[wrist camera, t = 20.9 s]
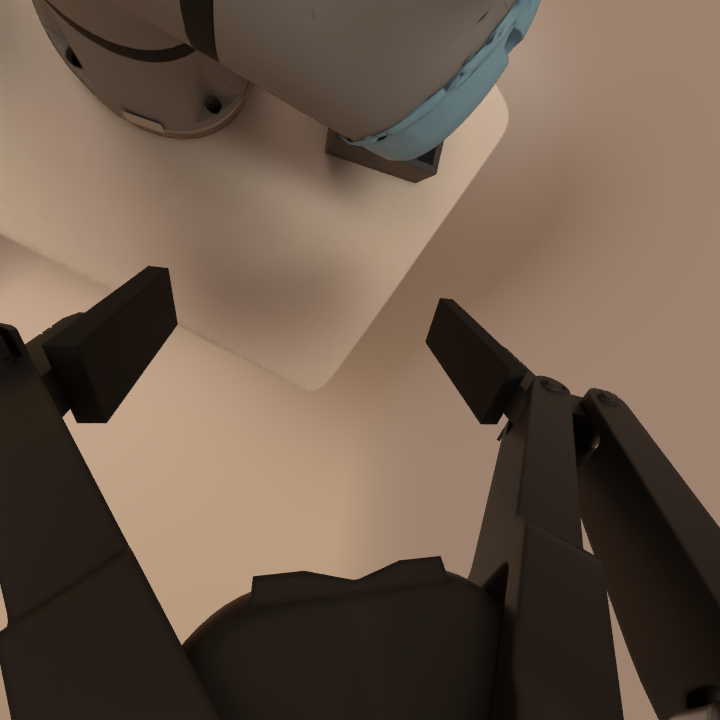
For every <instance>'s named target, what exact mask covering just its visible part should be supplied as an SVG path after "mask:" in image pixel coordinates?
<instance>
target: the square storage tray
mask: <svg viewBox="0 0 720 720" xmlns="http://www.w3.org/2000/svg"><path fill="white" fill-rule="evenodd" d="M443 142H444V140H443V141H442V142H441V143H440V144H438V145H437V146H436V147H434V148H433V149H431V150H430V151H428V152H427V153H425V154H423V155H421V156H419V157H417V158H414V159H411V160H404V161H398V160H396V161H392V160H387V159H385V158H383V157H381V156H379V155H377V154H375V153H373V152H371V151H370V150H368V149H366V148H364V147H362V146H356V145H351V144H348V143H347V142H345V141H344V140H343V139H341V137H340V136H339V133H338V132H336V131H334V130H333V129H331V128H329V127H328V133H327V141H326V148H325V153H327V154H330V155H333V156H336V157H339V158H342V159H345V160H348V161H351V162H354V163H357V164H360V165H363V166H366V167H369V168H372V169H375V170H378V171H381V172H384V173H387V174H390V175H393V176H396V177H399V178H402V179H405V180H408V181H411V182H414V183H417V182H419V181H422V180H424V179H426V178H429V177H431V176H433V175H436V173H437V169H438V164H439V160H440V155H441V151H442V146H443Z"/></svg>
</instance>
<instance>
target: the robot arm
mask: <svg viewBox="0 0 720 720" xmlns="http://www.w3.org/2000/svg"><path fill="white" fill-rule="evenodd" d="M32 2H33V4H34V7H35V9H36V12H37V14H38V16H39V19H40V21H41V23H42V25H43V27H44V29H45V31H46V33H47V35H48V37H49V39H50V40H51V42H52V44H53V45H54V47H55V48H56V50H57V51H58V53H59V54H60V56H61V57H62V59H63V60H64V61H65V63H66V64H67V65H68V67H69V68H70V69H71V70H72V71H73V73H74V74H75V75H76V76H77V77H78V78H79V79H80V80H81V81H82V82H83V83H84V84H85V85H86V87H87V88H88V89H89V90H90V91H91V92H92V93H94V94H95V95H96V96H97V97H98V98H99V99H100V100H101V101H102V102H103V103H104V104H105V105H107V106H108V107H109V108H110V109H111V110H113V111H114V112H116V113H117V114H118V115H120V116H121V117H123V118H124V119H126V120H127V121H129V122H131V123H133V124H135V125H136V126H138V127H141V128H143V129H145V130H147V131H150V132H153V133H156V134H159V135H163V136H167V137H173V138H197V137H202V136H206V135H209V134H212V133H214V132H216V131H218V130H220V129H221V128H223V127H225V126H226V125H227V124H228V123H230V122H231V121H232V120H233V119H234V118H235V116H236V115H237V114H238V113H239V111H240V110H241V108H242V106H243V105H244V103H245V101H246V98H247V96H248V93H249V90H250V86H251V82H252V83H254V84H255V85H257V86H259V87H261V88H262V89H264V90H266V91H267V92H269V93H271V94H273V95H274V96H276V97H278V98H279V99H281V100H283V101H285V102H286V103H288V104H290V105H291V106H293V107H295V108H297V109H298V110H300V111H302V112H303V113H305V114H307V115H309V116H310V117H312V118H314V119H315V120H317V121H319V122H321V123H322V124H324V125H326V126H327V127H329V128H331V129H333V130H334V131H336V132H338V133H339V136H340V137H341V139H343V140H344V141H345V142H347V143H348V144H351V145H356V146H362V147H364V148H366V149H368V150H370V151H371V152H373V153H375V154H377V155H379V156H381V157H383V158H385V159H387V160H392V161H396V160H398V161H404V160H411V159H414V158H417V157H419V156H421V155H423V154H425V153H427V152H428V151H430V150H431V149H433V148H434V147H436V146H437V145H438V144H440V143H441V142H442V141H443V140H445V139H446V138H447V137H448V136H449V135H450V134H451V133H452V132H454V131H455V130H456V129H457V128H458V127H459V126H460V125H461V124H462V123H463V122H464V121H465V120H466V119H467V117H468V116H469V115H470V114H471V113H472V112H473V111H474V109H475V108H476V107H477V106H478V105H479V104H480V103H481V101H482V100H483V99H484V98H485V96H486V95H487V94H488V92H489V91H490V90H491V88H492V87H493V86H494V84H495V83H496V81H497V80H498V79H499V77H500V76H501V74H502V73H503V71H504V70H505V68H506V67H507V65H508V53H509V52H510V51H511V50H512V49H513V48H514V47H515V46H516V45H517V44H518V43H519V42H520V41H521V40H522V39H523V38H524V37H525V35H526V33H527V31H528V29H529V27H530V25H531V23H532V21H533V19H534V17H535V14H536V12H537V10H538V7H539V4H540V2H541V0H32ZM177 325H178V323H177V317H176V311H175V305H174V299H173V293H172V287H171V281H170V275H169V269H168V268H162V267H153V266H148V267H146V268H145V269H144V270H142V271H141V272H140V273H138V274H137V275H136V276H134V277H133V278H131V279H130V280H129V281H127V282H126V283H125V284H123V285H122V286H121V287H119V288H118V289H117V290H115V291H114V292H112V293H111V294H110V295H108V296H107V297H106V298H104V299H103V300H102V301H100V302H99V303H97V304H96V305H95V306H93V307H92V308H91V309H89V310H88V311H87V312H85V313H81V312H79V313H76V314H73V315H71V316H68V317H65V318H63V319H61V320H60V321H58V322H57V323H56V324H54V325H53V326H52V328H48V329H47V330H45V331H44V332H43V334H39V335H38V336H37V337H35V338H34V339H32V340H31V341H29V342H28V343H27V344H24V342H23V341H22V339H21V336H20V334H19V332H18V330H17V329H16V328H15V327H13V326H12V325H8V324H3V323H0V585H1V589H2V594H3V598H4V602H5V607H6V611H7V617H8V624H7V627H6V628H5V629H3V630H2V631H0V665H1V670H2V675H3V680H4V685H5V690H6V695H7V700H8V705H9V710H10V715H11V720H624V717H623V710H622V703H621V695H620V688H619V680H618V672H617V665H616V657H615V650H614V643H613V635H612V627H611V620H610V613H609V605H608V597H607V592H608V595H609V597H610V601H611V603H612V606H613V609H614V612H615V614H616V617H617V620H618V623H619V625H620V629H621V631H622V634H623V637H624V640H625V643H626V645H627V648H628V651H629V653H630V656H631V658H632V661H633V663H634V666H635V668H636V671H637V673H638V676H639V679H640V681H641V683H642V685H643V687H644V689H645V691H646V694H647V696H648V698H649V700H650V702H651V704H652V706H653V708H654V711H655V713H656V715H657V717H658V719H659V720H720V528H719V526H718V525H717V524H716V522H715V521H714V520H713V518H712V517H711V516H710V514H709V513H708V512H707V510H706V509H705V508H704V506H703V505H702V504H701V503H700V501H699V500H698V499H697V497H696V496H695V495H694V493H693V492H692V491H691V489H690V488H689V487H688V485H687V484H686V483H685V481H684V480H683V479H682V477H681V476H680V475H679V473H678V472H677V471H676V469H675V468H674V467H673V465H672V464H671V463H670V461H669V460H668V459H667V457H666V456H665V455H664V454H663V452H662V451H661V450H660V448H659V447H658V446H657V444H656V443H655V442H654V440H653V439H652V438H651V437H650V435H649V434H648V432H647V431H646V430H645V428H644V427H643V426H642V424H641V423H640V422H639V420H638V419H637V418H636V416H635V415H634V414H633V413H632V411H631V410H630V409H629V407H628V406H627V405H626V404H625V403H624V402H623V401H622V400H621V399H619V398H618V397H617V396H616V395H615V394H612V393H611V392H608V391H604V390H601V389H596V388H591V389H589V390H588V392H587V393H586V394H585V396H584V397H579V396H575V395H571V394H570V391H569V390H568V389H567V387H565V386H564V385H563V384H561V383H560V382H558V381H556V380H554V379H552V378H549V377H545V376H535V375H534V374H533V373H532V372H531V371H530V370H529V369H528V368H527V367H526V366H525V365H524V364H523V363H522V362H519V360H518V359H517V358H516V357H514V355H513V354H512V353H511V352H510V351H509V350H508V349H506V348H505V347H503V346H501V345H500V344H499V343H498V342H497V341H496V340H495V339H494V338H493V337H492V336H491V335H490V334H489V333H488V332H487V331H486V330H485V329H484V328H482V327H481V326H480V325H479V324H478V323H477V322H476V321H475V320H474V319H473V318H472V317H471V316H470V315H468V313H467V312H465V311H464V310H463V309H462V308H461V307H460V306H459V305H458V304H457V303H456V302H455V301H454V300H453V299H444V298H440V300H439V303H438V306H437V309H436V312H435V315H434V318H433V321H432V324H431V327H430V330H429V333H428V336H427V339H426V344H427V345H428V347H429V348H430V349H431V351H432V353H433V354H434V355H435V357H436V358H437V360H438V361H439V363H440V364H441V366H442V367H443V369H444V370H445V372H446V373H447V375H448V376H449V378H450V379H451V381H452V382H453V384H454V385H455V387H456V388H457V390H458V391H459V393H460V394H461V396H462V397H463V398H464V400H465V402H466V403H467V405H468V406H469V407H470V409H471V411H472V412H473V414H474V415H475V417H476V418H477V419H478V421H479V422H480V424H497V423H498V422H499V419H500V418H501V416H502V415H503V413H504V414H505V415H506V417H507V418H508V419H509V420H508V422H507V424H506V425H505V427H504V429H503V430H502V432H501V434H500V435H499V437H498V439H497V440H498V441H500V440H501V439H502V440H501V444H500V449H499V453H498V457H497V461H496V466H495V470H494V474H493V479H492V483H491V487H490V492H489V496H488V500H487V504H486V509H485V513H484V517H483V522H482V526H481V530H480V535H479V539H478V543H477V547H476V552H475V556H474V560H473V565H472V568H471V571H470V574H469V576H468V579H466V578H464V577H461V576H460V575H457V574H454V573H452V572H449V571H446V570H445V568H444V565H443V562H442V559H441V556H436V557H427V558H418V559H408V560H399V561H397V562H395V563H393V564H391V565H388V566H386V567H384V568H382V569H380V570H378V571H375V572H373V573H371V574H369V575H367V576H364V577H362V578H360V579H357V580H350V579H344V578H339V577H334V576H329V575H324V574H317V573H313V572H307V571H298V572H289V573H280V574H272V575H262V576H254V577H253V582H252V590H251V592H249V593H247V594H245V595H243V596H240V597H238V598H237V599H235V600H233V601H231V602H230V603H228V604H226V605H225V606H223V607H222V608H221V609H219V610H218V611H216V612H215V613H214V614H212V615H211V616H210V617H209V618H208V619H207V620H206V621H205V622H204V623H202V624H201V625H200V626H199V627H198V628H197V629H196V630H195V631H194V632H193V633H192V634H191V635H190V637H189V638H188V639H187V640H186V641H185V642H184V643H183V644H182V645H181V643H180V641H179V640H178V638H177V636H176V634H175V632H174V630H173V628H172V626H171V624H170V622H169V620H168V619H167V617H166V615H165V613H164V611H163V609H162V607H161V605H160V603H159V601H158V599H157V598H156V596H155V594H154V592H153V590H152V588H151V586H150V584H149V582H148V580H147V578H146V576H145V574H144V572H143V570H142V569H141V567H140V565H139V563H138V561H137V559H136V557H135V555H134V553H133V552H132V550H131V548H130V547H129V545H128V543H127V541H126V539H125V537H124V536H123V534H122V532H121V530H120V528H119V526H118V524H117V522H116V520H115V518H114V516H113V514H112V512H111V511H110V509H109V507H108V505H107V503H106V501H105V499H104V497H103V495H102V493H101V491H100V489H99V487H98V486H97V484H96V482H95V480H94V478H93V476H92V474H91V472H90V470H89V468H88V466H87V464H86V463H85V460H84V459H83V457H82V455H81V453H80V451H79V449H78V447H77V445H76V443H75V441H74V439H73V437H72V436H71V434H70V432H69V430H68V428H67V426H66V424H65V422H64V420H63V418H62V417H63V416H64V415H65V414H66V413H67V412H68V411H69V410H70V409H71V411H72V413H73V415H74V417H75V420H76V422H77V423H107V422H108V421H109V419H110V418H111V416H112V415H113V414H114V412H115V411H116V409H117V408H118V407H119V405H120V404H121V402H122V401H123V400H124V398H125V397H126V396H127V394H128V393H129V391H130V390H131V389H132V387H133V386H134V384H135V383H136V382H137V380H138V379H139V377H140V376H141V375H142V373H143V372H144V370H145V369H146V368H147V366H148V365H149V363H150V362H151V360H152V359H153V358H154V357H155V355H156V354H157V352H158V351H159V350H160V348H161V347H162V345H163V344H164V343H165V341H166V340H167V338H168V337H169V336H170V334H171V333H172V332H173V330H174V329H175V327H176V326H177ZM598 444H599V445H598ZM597 445H598V446H597ZM596 446H597V448H595V447H596ZM581 519H582V522H583V525H584V528H585V531H586V533H587V536H588V539H589V542H590V545H591V547H592V550H593V553H594V555H593V554H591V553H589V552H587V551H586V550H584V549H583V543H582V530H581ZM606 589H607V590H606Z"/></svg>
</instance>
